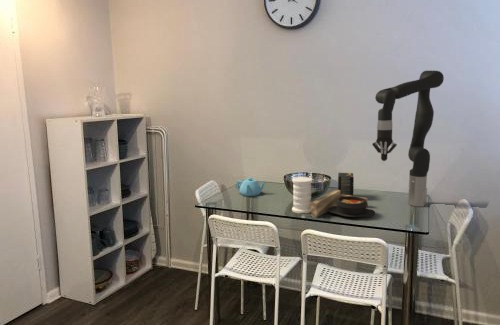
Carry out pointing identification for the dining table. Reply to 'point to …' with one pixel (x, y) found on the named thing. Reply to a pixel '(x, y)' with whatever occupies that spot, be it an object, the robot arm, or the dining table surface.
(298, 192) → the decorative container
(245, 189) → the teapot
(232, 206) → the dining table surface
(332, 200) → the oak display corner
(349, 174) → the tampon box
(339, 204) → the casserole
